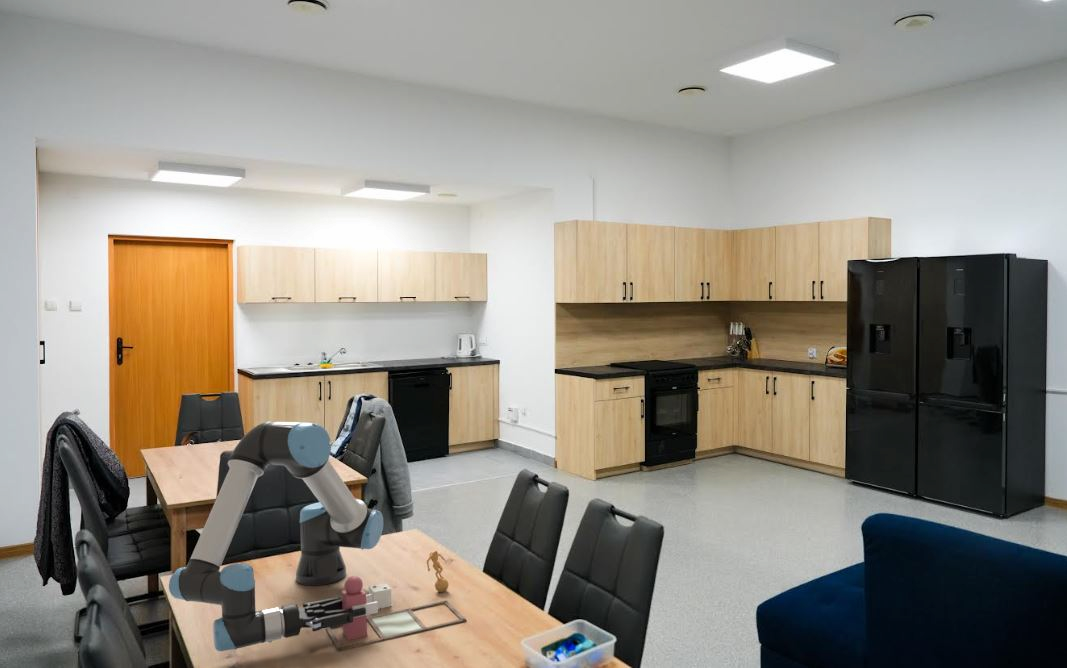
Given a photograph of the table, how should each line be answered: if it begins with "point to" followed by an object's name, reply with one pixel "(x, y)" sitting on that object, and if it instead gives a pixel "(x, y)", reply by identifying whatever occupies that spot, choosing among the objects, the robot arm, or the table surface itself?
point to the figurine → (441, 583)
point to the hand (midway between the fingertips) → (374, 603)
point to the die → (381, 595)
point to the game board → (397, 625)
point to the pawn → (354, 597)
